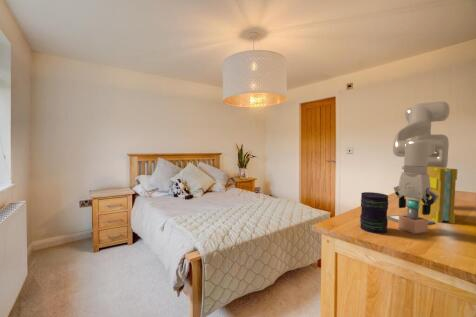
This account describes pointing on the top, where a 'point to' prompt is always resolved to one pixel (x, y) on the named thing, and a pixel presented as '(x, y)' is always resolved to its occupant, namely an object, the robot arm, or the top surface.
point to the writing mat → (396, 217)
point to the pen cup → (413, 225)
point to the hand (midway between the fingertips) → (413, 210)
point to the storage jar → (374, 212)
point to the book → (442, 194)
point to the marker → (413, 209)
